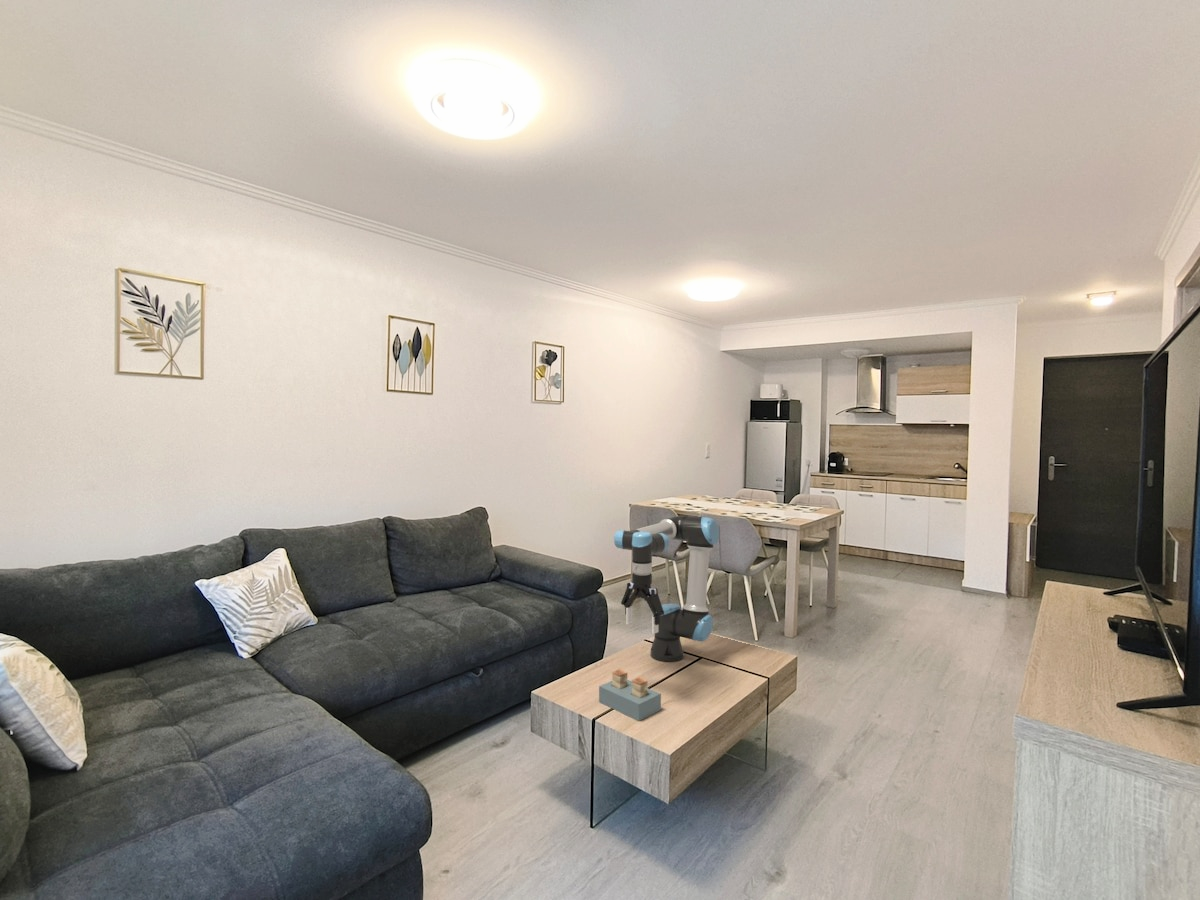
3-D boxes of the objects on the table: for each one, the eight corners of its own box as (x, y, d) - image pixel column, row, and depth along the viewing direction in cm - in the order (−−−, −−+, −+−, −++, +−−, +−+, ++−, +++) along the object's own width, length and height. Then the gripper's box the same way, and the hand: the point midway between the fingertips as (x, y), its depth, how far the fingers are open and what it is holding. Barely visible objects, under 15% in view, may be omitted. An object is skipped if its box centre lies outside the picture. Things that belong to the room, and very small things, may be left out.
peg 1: (619, 684, 214) (619, 669, 213) (627, 688, 211) (627, 672, 211) (612, 688, 211) (612, 672, 211) (619, 691, 208) (620, 675, 208)
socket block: (621, 692, 218) (621, 677, 218) (660, 710, 204) (660, 693, 204) (599, 702, 210) (599, 686, 210) (638, 721, 196) (638, 704, 196)
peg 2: (639, 693, 206) (639, 677, 206) (647, 697, 203) (647, 680, 203) (631, 696, 204) (631, 680, 203) (640, 700, 201) (640, 683, 201)
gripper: (612, 569, 221) (612, 622, 221) (660, 580, 202) (660, 639, 203) (625, 566, 226) (625, 618, 226) (673, 577, 207) (673, 634, 208)
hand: (642, 628), depth 214 cm, fingers open, 13 cm apart
